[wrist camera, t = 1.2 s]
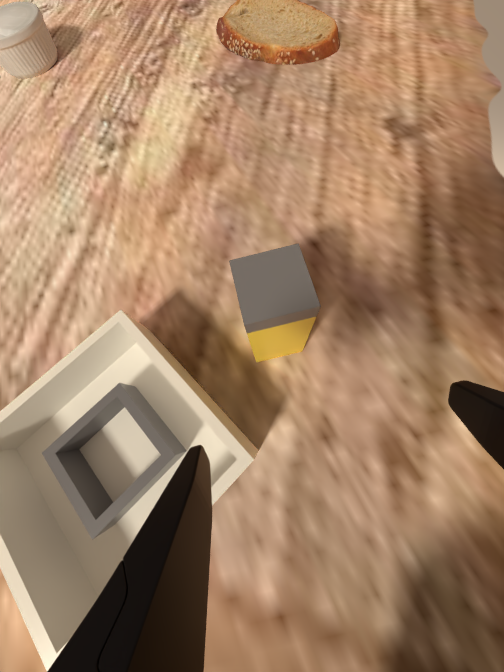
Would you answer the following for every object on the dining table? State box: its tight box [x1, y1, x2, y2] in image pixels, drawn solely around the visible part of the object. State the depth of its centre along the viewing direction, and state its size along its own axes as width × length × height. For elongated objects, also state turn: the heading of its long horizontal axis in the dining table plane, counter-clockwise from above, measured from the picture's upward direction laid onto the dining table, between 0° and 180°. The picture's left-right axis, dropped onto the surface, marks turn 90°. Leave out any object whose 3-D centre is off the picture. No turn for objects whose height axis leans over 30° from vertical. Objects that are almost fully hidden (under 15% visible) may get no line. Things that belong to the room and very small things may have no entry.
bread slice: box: [216, 0, 340, 64], centre depth 39 cm, size 18×18×4 cm
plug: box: [229, 244, 321, 362], centre depth 20 cm, size 4×4×10 cm
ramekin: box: [0, 2, 58, 79], centre depth 42 cm, size 11×11×5 cm
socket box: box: [0, 310, 259, 671], centre depth 20 cm, size 16×16×5 cm
